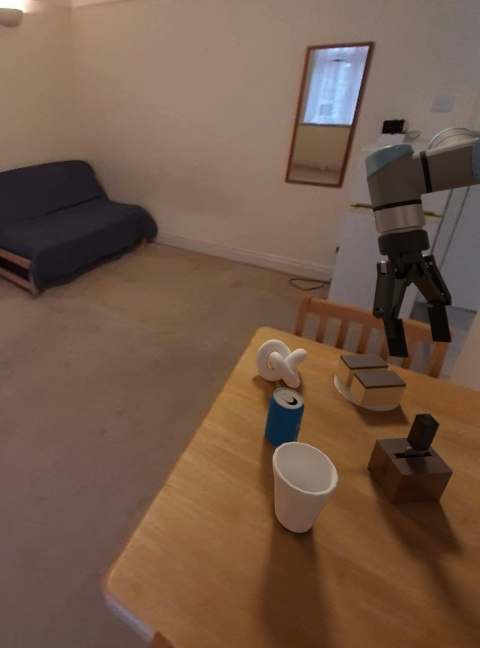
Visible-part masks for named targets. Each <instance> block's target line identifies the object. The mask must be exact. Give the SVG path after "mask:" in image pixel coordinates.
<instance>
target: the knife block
mask: <svg viewBox="0 0 480 648" xmlns="http://www.w3.org/2000/svg"><path fill="white" fill-rule="evenodd" d="M406 447H410V446H409V443H408V442H407V437H394V438H378V439H376V440H375V443H374V446H373V449H372V452H371V455H370V458H369V460H368V464H367V466H366V468H367V470H368V471H369V474H371V476H372V477H373V479H374V480H375V482H376V484H377V485H378V487H379V488H380V490H381V492H382V493H383V494H384V496H385V497H386V499H387V501H388V502H389V504H390V505H401V504H414V503H416V504H417V503H418V504H419V503H429V502H430V503H432V502H440V501H441V498H442V496H443V494H444V493H445V489H446V488H447V486H448V484H449V482H450V480H451V478H452V476H453V473H454V471H453V470H452V468H451V467H449V465H448V464H447V463H446V462H445V460H444V459H443V458H442V457H441V456H440V455H439V453H438V452H437V451H436V450H435V449H434V448H433V447H432V445H431V446H430V448H429V450H428V451H425V452H424V454H423V457H416V458H402V457H403V455H404V452H405V450H406Z"/></svg>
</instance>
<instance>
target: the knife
mask: <svg viewBox="0 0 480 648" xmlns="http://www.w3.org/2000/svg"><path fill="white" fill-rule="evenodd" d="M439 427H440V423H439V422H438V420H436V418H435V417H433V415H432V414H431V413H417V414H415V417H414V419H413V422H412V425H411V427H410V430H409V432H408V434H407V437H406V438H407V442H408V443H409V446H410V447H406V450H405V452H404V455H403V457H402V458H416V457H423V454H424V452H425V451H428V450H429V448H430V446H431V447H432V443H433V441H434V440H435V436H436V434H437V432H438V429H439Z"/></svg>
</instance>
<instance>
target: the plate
mask: <svg viewBox="0 0 480 648" xmlns="http://www.w3.org/2000/svg"><path fill="white" fill-rule="evenodd" d="M333 382H334V386H335V388H336V390H337V391H338V393H339V394H341V395H342V397H344V398H345V399H346V400H347V401H349V402H351V403H352V404H353V405H354V404H355V405H356V406H359V407H360V408H361V407H362V408H364V409H367V410H372V411H380V412H386V411H391V410H394V409H395V408H397V407H398V406H399V405H400V404H390V405H373V406H360V405H359V404H358V402H357V401H356V400H355V399H354V397H353V396H352V395H351V393H350V392H349V391H350V388H351V386H350V387H345V385H344V384H343V383H342V381H341V380H340V379H339V377H338V376H337V375H336V374H335V375H334V377H333Z"/></svg>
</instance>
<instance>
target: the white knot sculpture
mask: <svg viewBox="0 0 480 648" xmlns="http://www.w3.org/2000/svg"><path fill="white" fill-rule="evenodd" d="M307 356H308V353H307V351H306V350H305V349H304V348H297V349H295V350H294V351H291V349H290V348H289V347H288V345H287V344H285V342H283V341H281V340H280V339H269V340H266V341H265V342H264V343H262V344H261V346H259V349H258V350H257V353H256V357H255V366H256V369H257V373H258V374H259V375H260V376H261V378H263V379H264V380H266V381H268V382H279V381H280V380H282V381H283V382H284V383H285V384H286V386H287V387H288V388H290V389H297V388H298V387H300V383H301V379H300V376H299V371H298V369H297V366H299V365H300V364H301V363H302V362H304V361H305V360H306V359H307ZM270 367H271V368H270Z"/></svg>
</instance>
